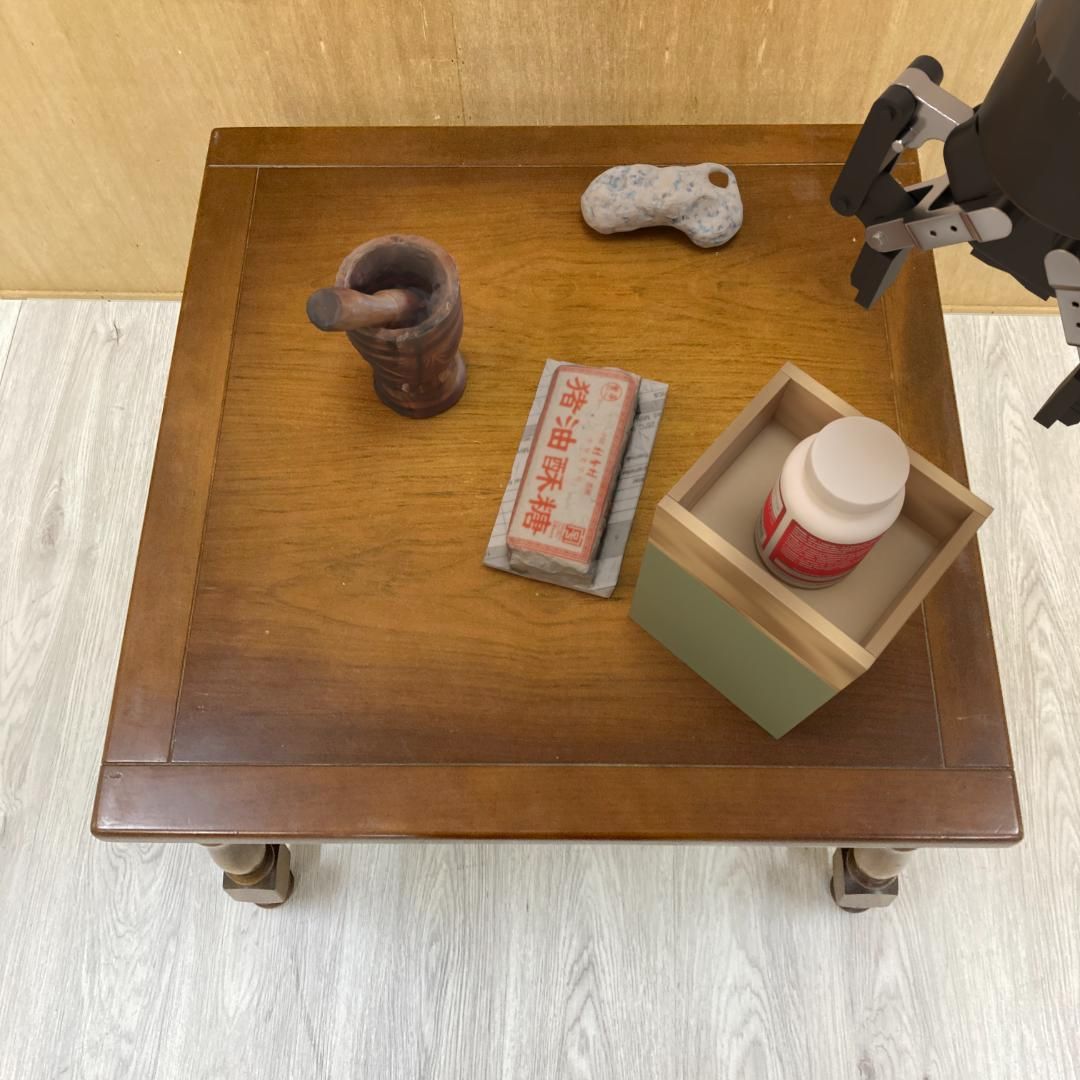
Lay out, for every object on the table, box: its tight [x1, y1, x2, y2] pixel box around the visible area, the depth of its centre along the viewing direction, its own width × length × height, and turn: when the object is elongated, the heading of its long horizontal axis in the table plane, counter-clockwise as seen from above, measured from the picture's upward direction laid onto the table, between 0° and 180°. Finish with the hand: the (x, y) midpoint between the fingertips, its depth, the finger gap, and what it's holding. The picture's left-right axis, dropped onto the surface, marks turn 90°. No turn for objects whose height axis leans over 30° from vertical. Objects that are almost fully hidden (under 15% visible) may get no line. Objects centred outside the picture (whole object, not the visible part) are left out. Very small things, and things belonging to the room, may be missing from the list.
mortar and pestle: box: [305, 233, 467, 419], centre depth 71 cm, size 12×9×20 cm
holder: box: [647, 360, 995, 693], centre depth 57 cm, size 14×12×6 cm
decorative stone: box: [580, 162, 744, 249], centre depth 84 cm, size 13×7×5 cm, turn 94°
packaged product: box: [481, 357, 669, 599], centre depth 76 cm, size 18×5×10 cm
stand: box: [627, 540, 840, 740], centre depth 67 cm, size 14×12×16 cm
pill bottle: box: [755, 416, 910, 588], centre depth 54 cm, size 6×6×11 cm
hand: (959, 349), depth 42 cm, fingers open, 8 cm apart
